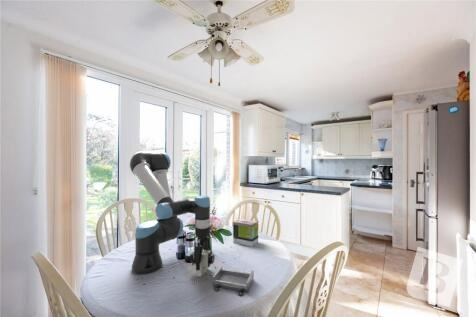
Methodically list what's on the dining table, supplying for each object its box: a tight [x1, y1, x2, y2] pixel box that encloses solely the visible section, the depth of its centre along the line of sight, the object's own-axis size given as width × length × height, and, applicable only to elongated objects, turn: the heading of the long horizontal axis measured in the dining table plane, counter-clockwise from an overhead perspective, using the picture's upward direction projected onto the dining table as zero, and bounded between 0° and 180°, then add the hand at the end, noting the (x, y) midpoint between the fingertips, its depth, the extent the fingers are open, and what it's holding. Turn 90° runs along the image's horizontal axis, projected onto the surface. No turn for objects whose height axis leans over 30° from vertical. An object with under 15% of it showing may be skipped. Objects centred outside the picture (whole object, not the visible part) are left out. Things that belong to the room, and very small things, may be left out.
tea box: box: [232, 218, 259, 248], centre depth 150 cm, size 15×10×15 cm
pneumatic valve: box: [189, 250, 216, 276], centre depth 110 cm, size 6×12×12 cm, turn 78°
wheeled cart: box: [212, 265, 255, 297], centre depth 99 cm, size 17×13×4 cm
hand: (202, 271), depth 110 cm, fingers open, 8 cm apart
